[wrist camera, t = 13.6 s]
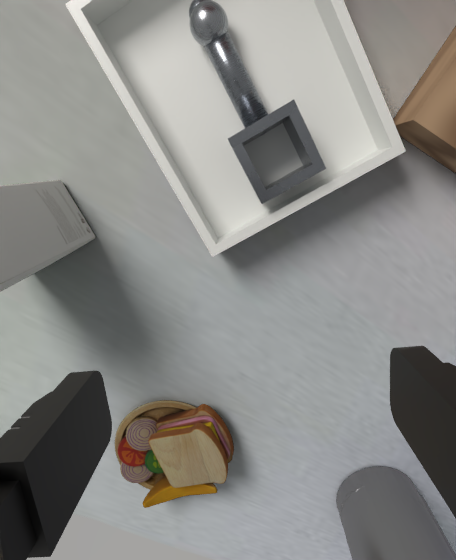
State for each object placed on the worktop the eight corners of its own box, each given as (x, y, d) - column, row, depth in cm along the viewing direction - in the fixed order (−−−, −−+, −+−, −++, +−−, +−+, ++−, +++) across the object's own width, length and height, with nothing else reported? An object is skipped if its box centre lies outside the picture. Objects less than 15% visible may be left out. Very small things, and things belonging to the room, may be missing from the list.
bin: (386, 153, 33) (405, 151, 29) (215, 247, 36) (212, 256, 32) (274, -109, 28) (280, -153, 24) (87, 25, 31) (65, 4, 27)
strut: (228, -16, 29) (225, -47, 25) (315, 169, 33) (326, 168, 29) (167, 25, 30) (155, 1, 26) (259, 200, 34) (261, 204, 29)
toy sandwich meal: (103, 405, 42) (87, 433, 37) (220, 384, 40) (218, 410, 36) (135, 492, 45) (123, 529, 40) (244, 475, 44) (245, 511, 39)
